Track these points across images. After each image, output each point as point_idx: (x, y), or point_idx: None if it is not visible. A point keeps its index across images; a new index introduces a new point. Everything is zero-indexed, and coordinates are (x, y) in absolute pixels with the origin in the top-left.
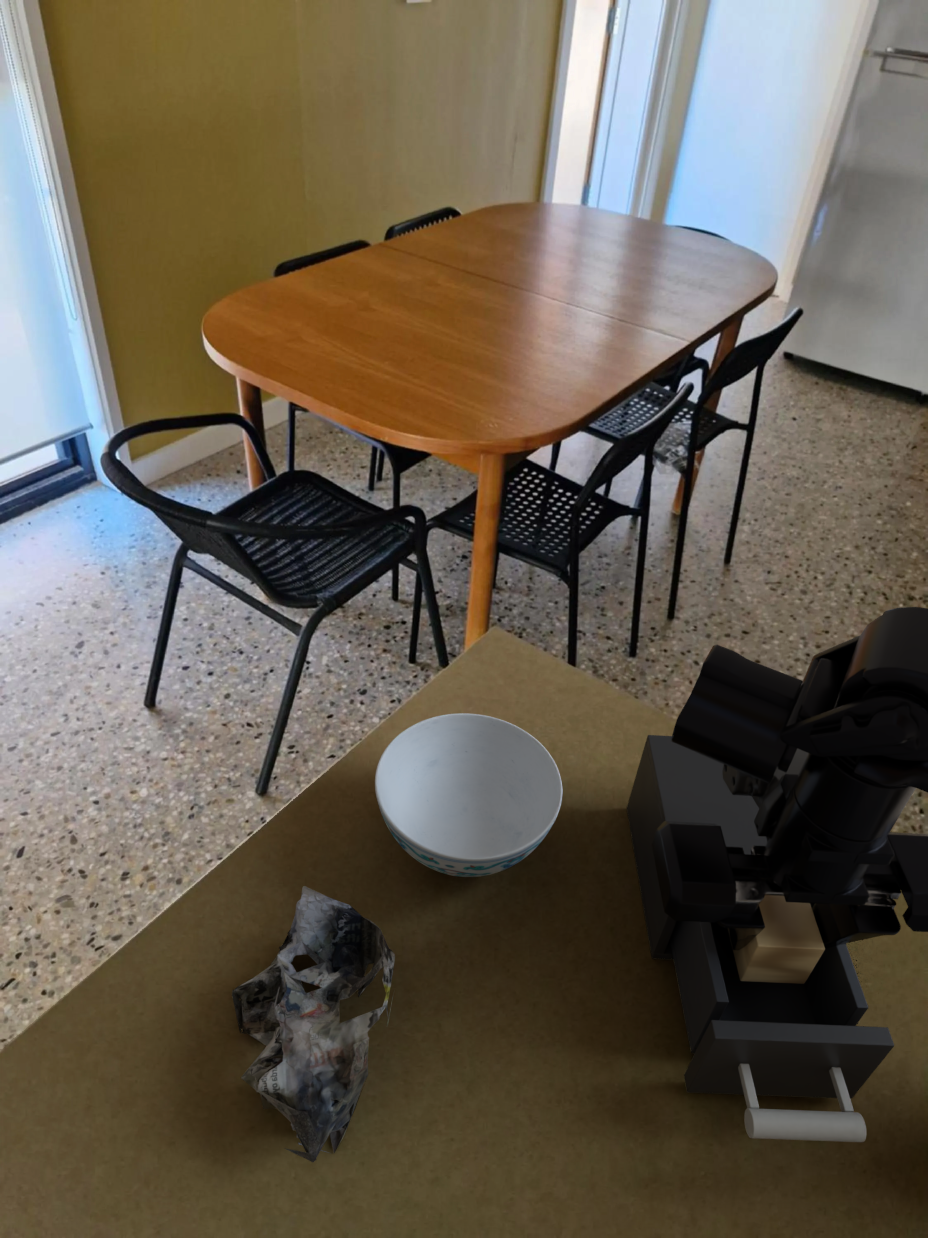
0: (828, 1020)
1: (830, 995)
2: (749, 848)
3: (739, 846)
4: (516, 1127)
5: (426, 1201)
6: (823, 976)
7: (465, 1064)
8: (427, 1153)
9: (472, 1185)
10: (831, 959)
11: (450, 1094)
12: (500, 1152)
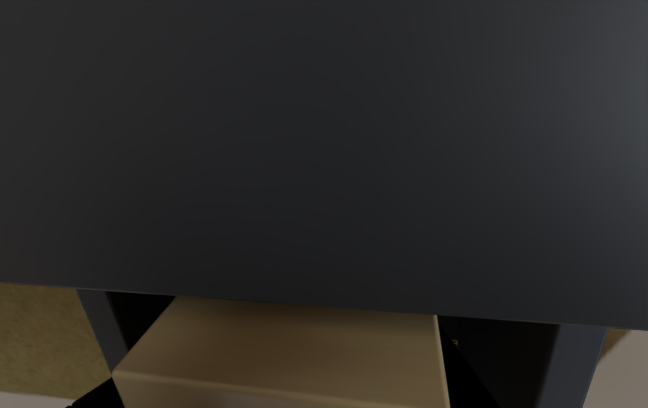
0: (469, 358)
1: (483, 367)
2: (209, 37)
3: (148, 26)
4: (80, 341)
5: (32, 381)
6: (489, 325)
7: (9, 286)
8: (15, 353)
9: (61, 376)
10: (509, 382)
11: (9, 311)
12: (74, 357)
